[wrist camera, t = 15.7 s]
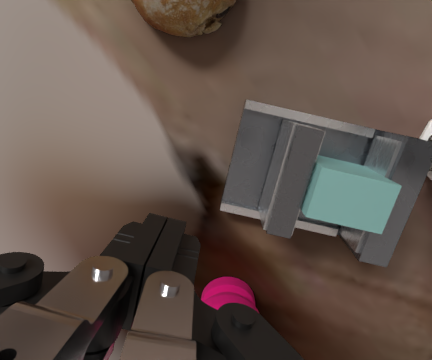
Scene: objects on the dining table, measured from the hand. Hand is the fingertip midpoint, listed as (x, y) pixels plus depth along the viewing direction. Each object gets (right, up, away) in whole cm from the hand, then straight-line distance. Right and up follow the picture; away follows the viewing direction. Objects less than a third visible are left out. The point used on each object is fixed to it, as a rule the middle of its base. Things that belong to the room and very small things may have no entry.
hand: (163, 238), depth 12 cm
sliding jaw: (+9, +3, +17) cm, 19 cm away
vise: (+11, +3, +18) cm, 22 cm away
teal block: (+13, +3, +17) cm, 21 cm away
